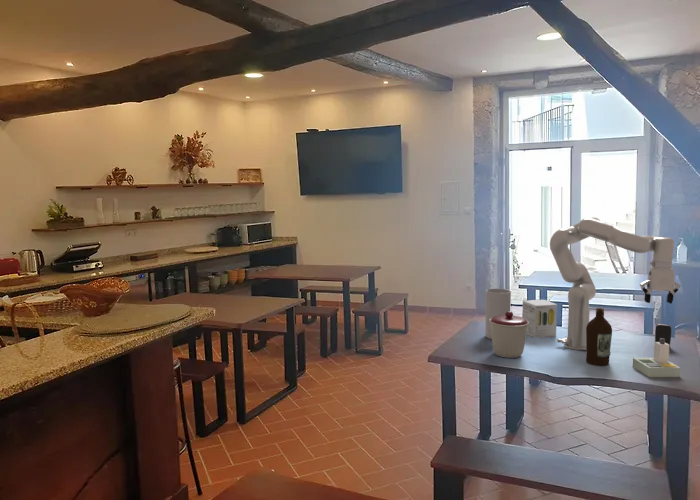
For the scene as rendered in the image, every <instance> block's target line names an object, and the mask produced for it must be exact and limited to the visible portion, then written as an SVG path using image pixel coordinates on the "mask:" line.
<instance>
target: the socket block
mask: <svg viewBox="0 0 700 500" xmlns="http://www.w3.org/2000/svg"><path fill="white" fill-rule="evenodd" d="M632 367H633V368H634V369H635V370H637V371H639V372H640V373H642V374H643V375H644V376H645V377H647V378H680V377H681V367H680V366H678V365H676V364H675V363H673V362H671V361H669V360H668V363H657V362H655V361H654V357H632Z"/></svg>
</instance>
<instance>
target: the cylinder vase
mask: <svg viewBox="0 0 700 500" xmlns="http://www.w3.org/2000/svg"><path fill="white" fill-rule="evenodd" d="M485 291H486V292H485V293H486V294H485V327H484V332H485V333H484V335H485V336H484V337H486V338H487V339H490V340H492V334H491V323H490V322H489V319H491V318H493V317H494V316H498V315H505V313H506V312H507V311H511V308H512V307H511V306H512V305H511V303H512V302H511V301H512V300H511V299H512V298H511V296H512V290H510V289H505V288H487V289H486V290H485Z"/></svg>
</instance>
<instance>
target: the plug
mask: <svg viewBox="0 0 700 500" xmlns="http://www.w3.org/2000/svg"><path fill="white" fill-rule="evenodd" d="M669 357H670V348H669V344H667V343H665V339H664V338H660V342H655V341H654V349H653V358H654V361H655V362H657V363H668V361H669V359H670V358H669Z"/></svg>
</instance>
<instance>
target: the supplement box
mask: <svg viewBox="0 0 700 500" xmlns="http://www.w3.org/2000/svg"><path fill="white" fill-rule="evenodd" d="M557 313H558V304H557V303H554V302H552V301H549V300H547V299H531V300H522V314H521V315H522V316H521V317H522V318H524V319H526V320H527V321H529V324H528V325H527V333H526V335H529V336H530V337H532V338H534V339H535V338H551V337H557V326H558V325H557V323H558V322H557V321H558V314H557Z"/></svg>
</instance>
